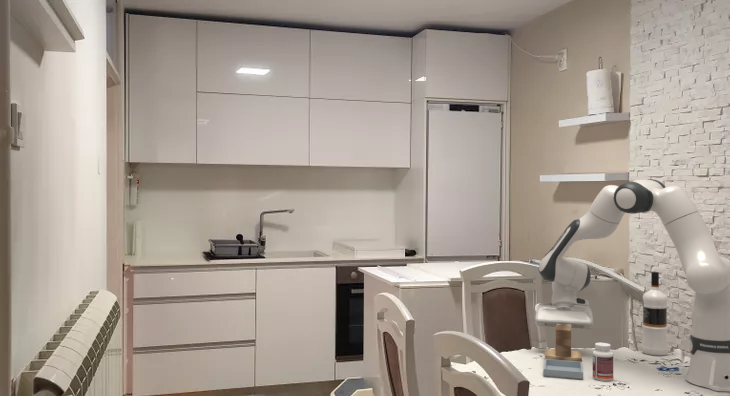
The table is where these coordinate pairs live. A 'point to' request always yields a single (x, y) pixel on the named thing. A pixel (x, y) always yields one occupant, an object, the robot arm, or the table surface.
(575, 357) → the oak board
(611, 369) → the pill bottle
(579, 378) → the tray
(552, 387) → the table surface
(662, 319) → the vodka
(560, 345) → the walnut block
